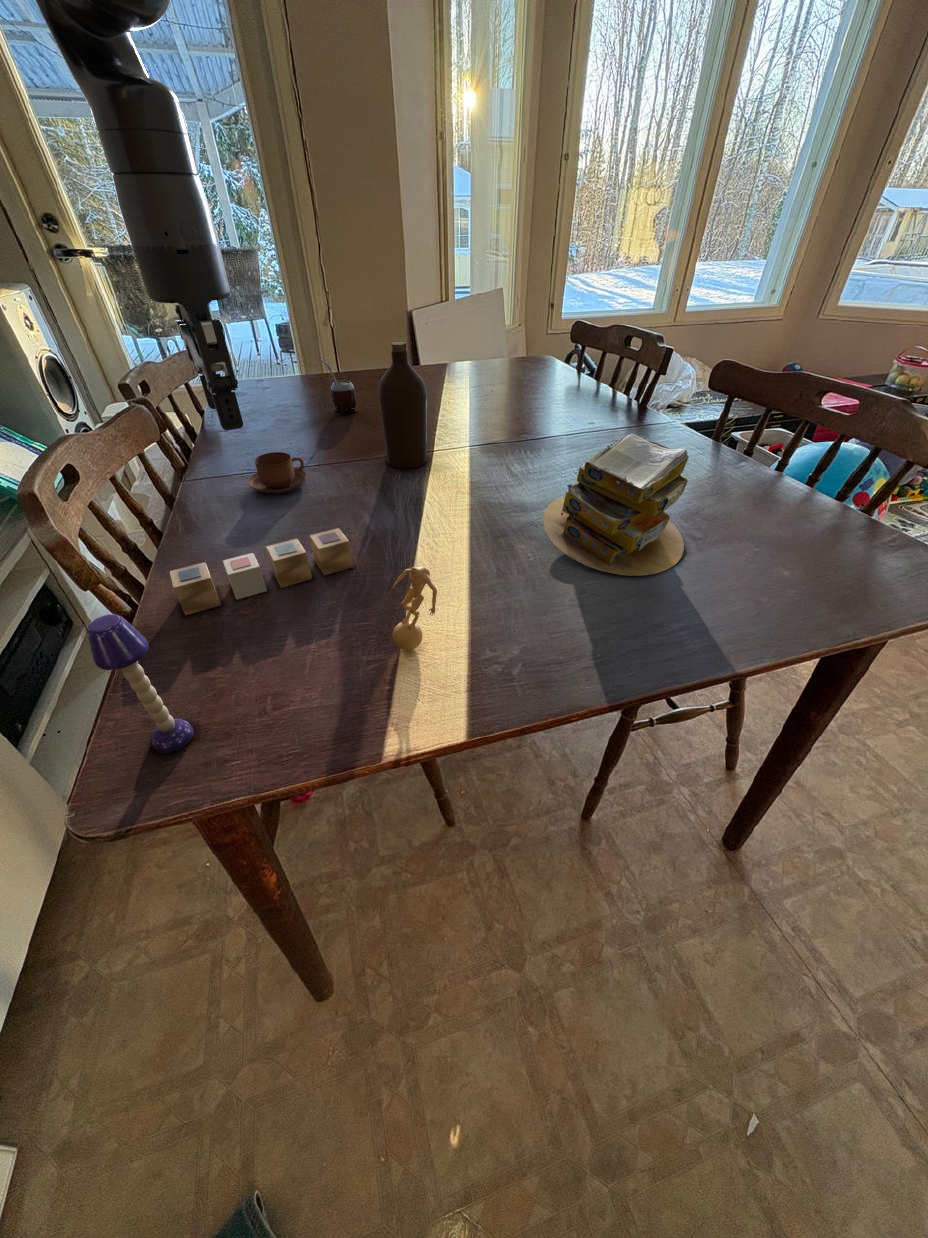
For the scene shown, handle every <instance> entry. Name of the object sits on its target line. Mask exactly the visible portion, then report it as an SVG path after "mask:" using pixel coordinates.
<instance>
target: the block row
mask: <svg viewBox="0 0 928 1238" xmlns="http://www.w3.org/2000/svg"><path fill="white" fill-rule="evenodd" d="M309 539H310V545H311V549H312V554H313V558H314V562H315V564H316V565H317V567H318V568H319V570H320V572H321V573H322V574H323V576H328V575H330V574H334V573H338V572H341V571H345V570H348V569H352V568H354V563H353V558H352V550H351V545H350V540H349V539H348V538H347V536H346V535H345V534H344V533H343V532H342V530H341V529H340V528H339V527H337V528H333V529H330V530H325V531H322V532H318V533H314V534H310V535H309ZM265 549H266V552H267V557H268V559H269V562H270V567H271V569H272V573H273V575H274V577H275V579H276V581H277V583H278V585H279V587H280V588H281V589H282V588H286V587H289V586H292V585H293V586H294V585H296V584H300V583H303V582H307V581H310V580H313V577H312V573H311V567H310V564H309V559H308V555H307V554H308V553H307V551H306V550H305V549H304V547H303V545H302V544H301V543H300V541H299V538H294V539H290V540H286V541H283V542H278V543H274V544H271V545H267V546H265ZM169 575H170V576H169V577H170V581H171V585H172V589H173V591H174V593H175V595H176V598H177V600H178V603H179V604H180V607H181V609H182V611H183V614H184V616H189V615H193V614H195V613H199V612H203V611H207V610H209V609H214V608H217V607H220V606H222V603H221V601H220V598H219V594H218V592H217V589H216V587H215V584H214V581H213V579H212V576H211V573H210V570H209V569H208V565H207V562H205V561H204V562H200V563H197V564H192V565H188V566H185V567H181V568H176V569H173V570H169Z"/></svg>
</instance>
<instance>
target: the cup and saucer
mask: <svg viewBox="0 0 928 1238" xmlns="http://www.w3.org/2000/svg"><path fill="white" fill-rule="evenodd" d="M297 461H298V462H300V466H299V467H294V464H293V463H294V462H297ZM254 464H255V465H254V466H255V468H256V471H257V472H256V473H254V474H252V475H251V476H250V477H249V479H248V480H247V483H248V485H249V487H250V488H251V489H253V490H254V491H256V492H259V493H263V494H282V493H283V494H284V493H287V492H290V491H293V490H295V489H298V488H299V487H301V486H302V485H303V484H304V483H305V482H306V480H307V478H308V477H307V473H306V472H305V471H304V470H303V468H304V466H305V462H304V460H303V459H302V458H301V457H299V456H297V457H296V456H295V457H292V456H291V454H290V453H288V452H284V451H283V452H282V451H273V452H266V453H263V454H260V455H258V456H256V457H255V459H254Z"/></svg>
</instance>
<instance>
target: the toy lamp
mask: <svg viewBox="0 0 928 1238" xmlns="http://www.w3.org/2000/svg"><path fill="white" fill-rule="evenodd" d="M86 634H87V638H88V642H89V647H90V652H91V655H92V659H93V662H94V664H95V665H96V666H97V667H98V668H99V669H101V670H103V671H116V670H117V671H118V670H122V674H123V677H124V678H125V679H126V681H128V682H129V686H130V688H131V689H132V690H133V691H134V692H135V694H136V697H137V699H138V700H139V702H141V703H142V706H143V708H144V710H145V711H147V712H148V714H149V717H150V719H151V720H152V721H153V722H155V726H156V727H155V729H154V731H153V733H152V735H151V745H152V748H153V749H154V750H155V751H156V752H158V753H161V754H170V753H174V752H176V751H179V750H181V749H182V748H184V747H185V746H186V745H187V744H188V743H189V742H190V741H191V739H192V738H193V736H194V733H195V732H194V728H193V727H194V726H193V725H192V724H191V723H189V722H188V721H187V720H185V719H181V718H173V716H172V715H171V714H170V712H169V710H168V708H167V706H166V705H164V702H163V701H164V700H163V699H162V698H161V696H160V695H158V693H157V692H158V691H157V690H156V688H155V687H154V686H153V685H152V684H151V680H150V678H149V677H148V676H147V675H146V674H145V670H144V668H143V666H141V665H140V664H139V661H140V660H141V659H142V658H143V657H144V656H146V654H147V652H148V650H149V642H148V639H146V637H145V636H144V635H143V634H141V633H140V632H139V631H138V630H137V629H136V628H135V627H134V626H133V625H132V624H131V623H130V622H128V621H127V620H126V619H125V618H124V617H123V616H121V615H119V614H116V613H112V614H111V613H110V614H104V615H101V616H99V617H96V618H95V619H94V620H92V621H91V622H90V623H88V625H87V628H86Z"/></svg>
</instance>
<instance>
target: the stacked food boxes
mask: <svg viewBox="0 0 928 1238" xmlns="http://www.w3.org/2000/svg"><path fill="white" fill-rule="evenodd" d="M614 444H615V445H614ZM688 460H689V455H688V451H687V449H686V448H677V449H675V448H673V449H672V448H670V447H667V446H665V445H663V444H660V443H658V442H655V441H652V440H649V439H647V438H645V437H642V436H639V435H637V434H635V433H634V432H632V433H629V434H627V436H625V437H623V438H621V439H619V440H616V441H613V442H612V443H610V444H608V445H607V446H606V448H604V449H603V450H601V451H599V452H597V453H596V454H595V455H593V456H591V457H590V458H588V459H587V460H586V462H585V463H584V464H582V465H580V466H579V469H578V472H577V471H575V474H577V476H576V482H578V483H576V484H574V485H572V484H566V486H567V488H568V490H567V492H565V494H564V495H562V496H560V497H557V498H556V499H554V500H553V501H552V502H550V503H549V504H548V506H546V508H545V510H544V513H543V515H542V525H543V529H544V531H545V533H546V536H547V537H548V539H549V540H550V541H551V542H552V544H554V546H556V547H557V548H558V550H560V551H561V552H562V553H563V554H565V555H566V556H568V557H569V558H570V559H573V560H574V561H576V562H578V563H580V564H583V565H584V566H587V567H589V568H591V569H595V570H597V571H600V572H605V573H610V574H614V575H620V576H628V577H629V576H631V577H640V576H650V575H656V574H659V573H662V572H665V571H667V570H669V569H671V568H672V567H674V566H675V565H676V564H677V563H679V561H680V560H681V558H682V557H683V554H684V550H685V543H684V539H683V536H682V534H681V532H680V530H679V529H678V527H677V526H676V525H675V524H674V523H673V522H672V521H671V519H670V518H671V517H670V515H669V514H668V513H667V512H665V511H667V510H668V509H669V508H671V507H672V506H673V505H674V504H675V503H676V502H677V501H678V500H679V499H680V496H682V495H683V494H684V491H685V490H686V487H687V485H688V482H689V479H688V478H686V477H683V476H682V474H683V473H684V471H685V468H686V466H687V463H688V462H689V461H688Z"/></svg>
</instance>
